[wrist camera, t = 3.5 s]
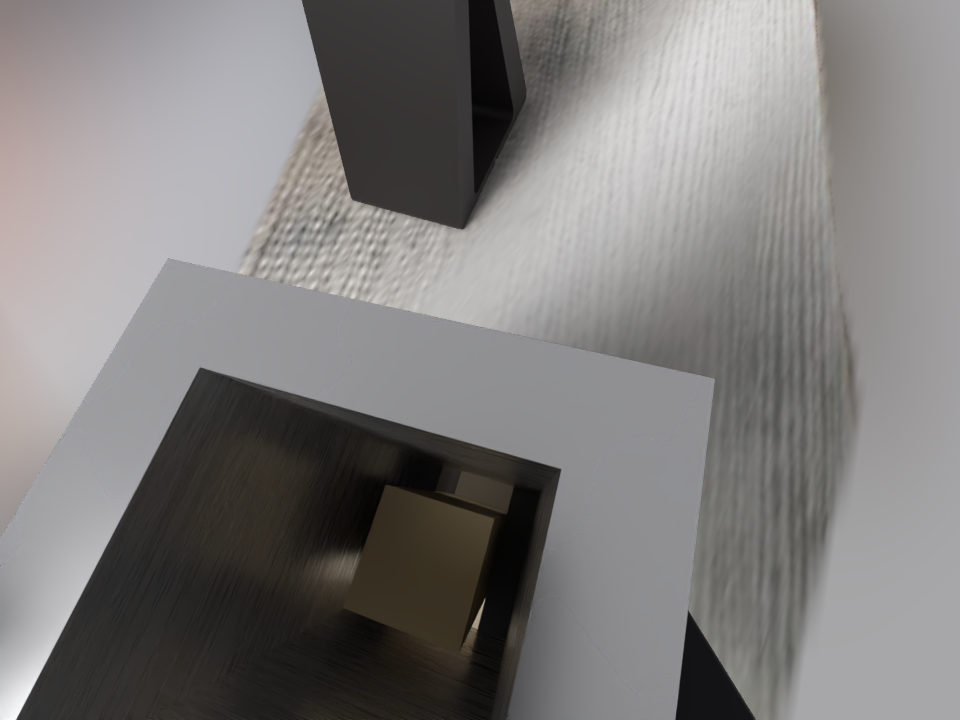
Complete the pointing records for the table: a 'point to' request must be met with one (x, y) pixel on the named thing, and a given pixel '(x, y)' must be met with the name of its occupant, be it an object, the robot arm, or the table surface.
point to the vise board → (444, 556)
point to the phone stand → (418, 98)
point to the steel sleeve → (344, 518)
